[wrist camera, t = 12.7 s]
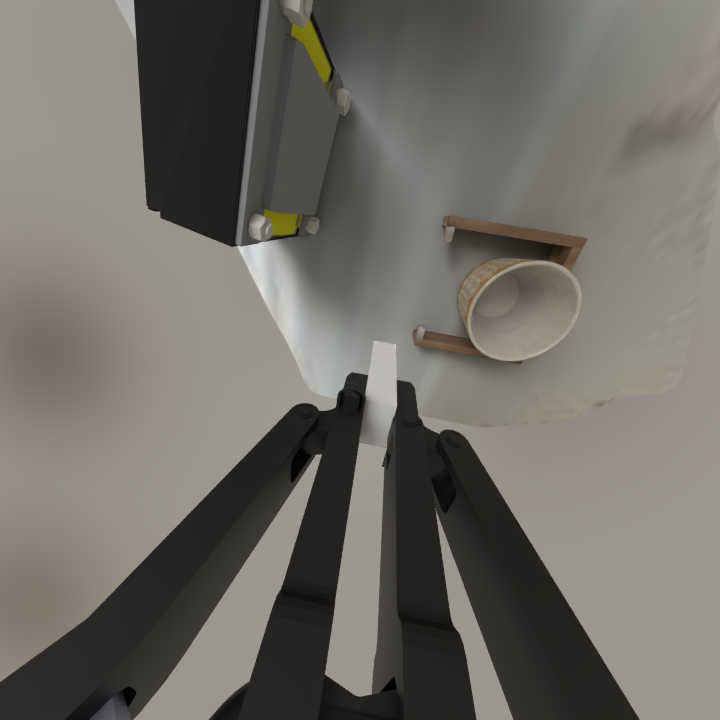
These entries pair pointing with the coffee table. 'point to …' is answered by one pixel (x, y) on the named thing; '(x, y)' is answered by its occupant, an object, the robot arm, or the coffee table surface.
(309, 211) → the electrical component
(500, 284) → the planter
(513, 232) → the walnut cradle
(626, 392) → the coffee table surface
